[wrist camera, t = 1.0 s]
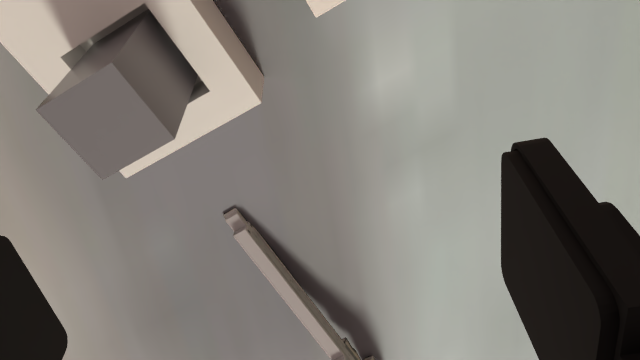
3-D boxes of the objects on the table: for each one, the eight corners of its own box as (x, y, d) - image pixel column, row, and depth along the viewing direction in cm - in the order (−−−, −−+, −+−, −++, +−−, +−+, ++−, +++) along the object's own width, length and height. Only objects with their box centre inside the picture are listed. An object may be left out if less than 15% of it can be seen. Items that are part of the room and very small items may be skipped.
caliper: (386, 367, 47) (398, 436, 42) (375, 372, 47) (385, 441, 42) (235, 204, 37) (226, 267, 32) (222, 212, 38) (211, 276, 32)
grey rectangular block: (153, 5, 29) (111, 62, 22) (200, 69, 31) (174, 139, 24) (93, 44, 30) (35, 110, 23) (142, 103, 32) (102, 180, 25)
